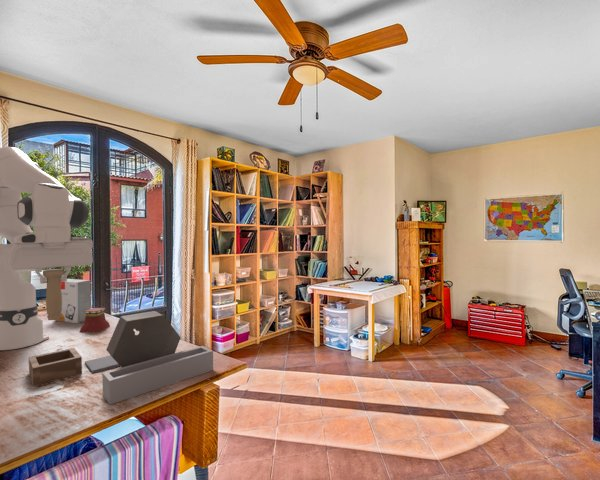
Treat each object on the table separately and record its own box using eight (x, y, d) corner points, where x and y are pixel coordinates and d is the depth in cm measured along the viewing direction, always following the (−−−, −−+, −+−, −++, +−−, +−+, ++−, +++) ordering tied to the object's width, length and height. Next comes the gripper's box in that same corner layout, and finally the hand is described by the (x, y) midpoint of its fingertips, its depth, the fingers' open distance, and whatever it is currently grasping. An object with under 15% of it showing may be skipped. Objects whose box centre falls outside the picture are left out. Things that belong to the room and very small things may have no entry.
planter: (181, 343, 111) (145, 298, 103) (190, 349, 105) (152, 301, 97) (136, 382, 102) (93, 336, 94) (144, 391, 96) (99, 343, 88)
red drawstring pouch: (110, 326, 148) (110, 307, 148) (98, 332, 139) (98, 311, 139) (91, 326, 148) (91, 307, 148) (79, 332, 139) (78, 311, 139)
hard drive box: (53, 321, 158) (52, 280, 157) (68, 317, 165) (68, 278, 165) (77, 323, 153) (76, 281, 153) (92, 319, 161) (91, 279, 160)
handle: (47, 322, 94) (46, 271, 94) (41, 319, 98) (41, 270, 98) (66, 319, 98) (66, 270, 97) (61, 315, 102) (60, 268, 102)
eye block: (29, 373, 98) (28, 357, 98) (74, 362, 106) (74, 347, 106) (33, 385, 90) (32, 368, 90) (81, 373, 98) (81, 357, 98)
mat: (84, 363, 105) (84, 361, 105) (118, 355, 112) (118, 353, 112) (92, 373, 98) (92, 370, 98) (127, 363, 105) (127, 361, 105)
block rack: (102, 395, 85) (102, 372, 85) (202, 364, 105) (202, 345, 105) (109, 404, 80) (109, 380, 80) (213, 370, 100) (213, 350, 100)
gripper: (90, 236, 107) (91, 277, 107) (7, 237, 93) (8, 284, 93) (95, 236, 102) (95, 279, 103) (8, 237, 88) (9, 287, 88)
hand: (53, 282), depth 98 cm, fingers closed on handle, 3 cm apart
